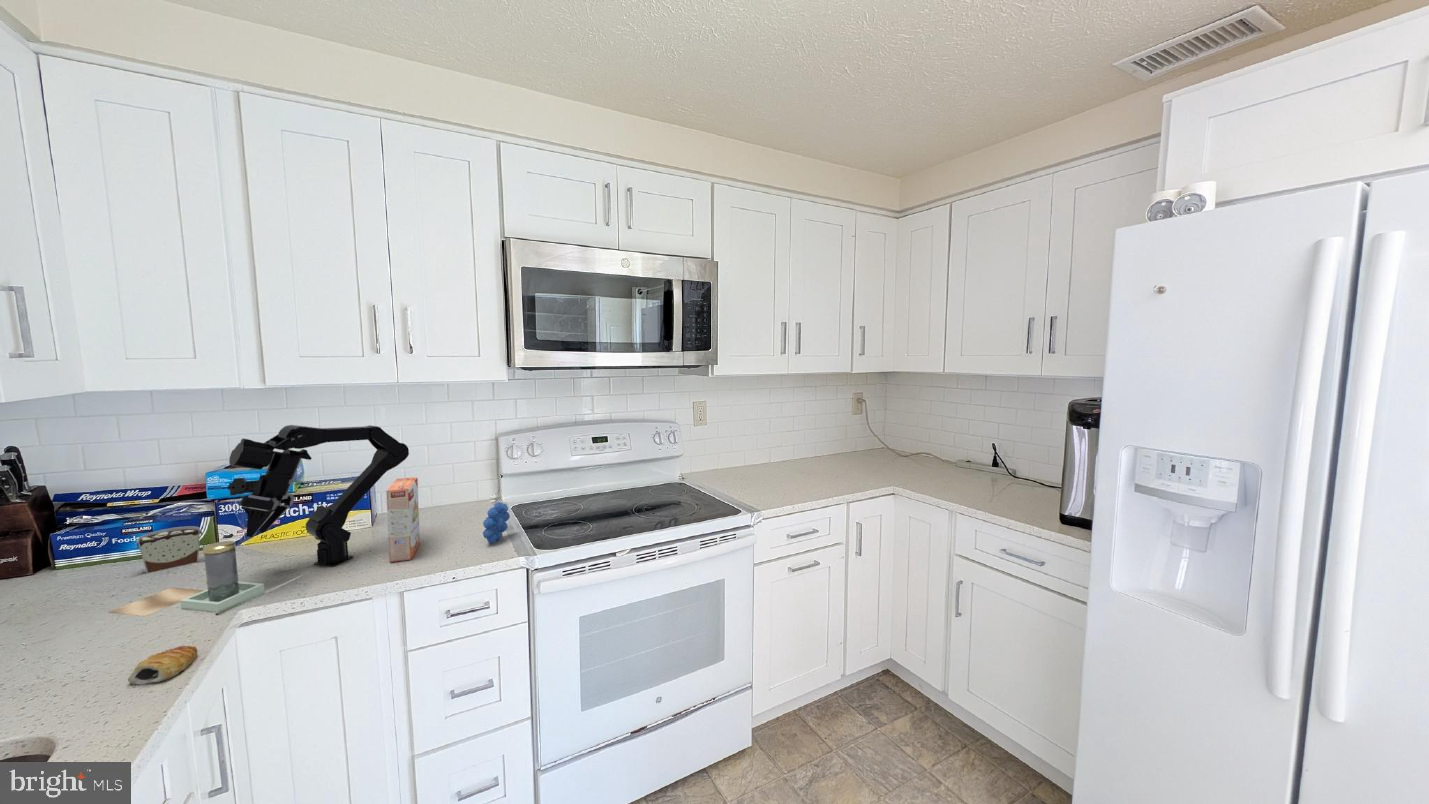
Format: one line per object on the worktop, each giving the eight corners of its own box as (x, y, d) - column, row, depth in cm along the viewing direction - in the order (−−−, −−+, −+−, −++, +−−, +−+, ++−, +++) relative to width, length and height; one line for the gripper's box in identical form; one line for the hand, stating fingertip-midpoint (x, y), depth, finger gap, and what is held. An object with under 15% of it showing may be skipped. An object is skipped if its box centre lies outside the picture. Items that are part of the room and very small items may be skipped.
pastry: (170, 656, 98) (168, 637, 98) (210, 653, 99) (209, 634, 99) (124, 688, 89) (121, 667, 89) (169, 684, 90) (167, 664, 90)
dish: (229, 590, 124) (228, 580, 124) (264, 593, 123) (263, 583, 123) (181, 611, 115) (180, 600, 114) (218, 614, 113) (217, 604, 113)
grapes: (496, 533, 164) (495, 497, 163) (515, 534, 163) (514, 498, 162) (472, 546, 153) (470, 508, 152) (492, 548, 152) (490, 509, 151)
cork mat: (172, 589, 124) (172, 587, 124) (206, 592, 123) (206, 590, 123) (107, 614, 113) (107, 612, 113) (144, 618, 111) (144, 616, 111)
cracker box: (413, 560, 143) (409, 488, 141) (388, 563, 141) (384, 490, 139) (421, 542, 156) (418, 476, 154) (399, 545, 154) (395, 478, 151)
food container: (202, 556, 144) (199, 522, 143) (205, 562, 140) (202, 527, 139) (137, 570, 135) (133, 534, 134) (138, 577, 131) (134, 540, 130)
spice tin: (218, 594, 121) (213, 542, 119) (245, 592, 122) (240, 540, 121) (202, 605, 115) (196, 550, 114) (230, 602, 117) (225, 548, 115)
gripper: (254, 465, 135) (230, 524, 132) (226, 466, 119) (197, 533, 115) (304, 474, 140) (282, 531, 136) (284, 476, 123) (257, 541, 120)
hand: (255, 534), depth 127 cm, fingers open, 9 cm apart
